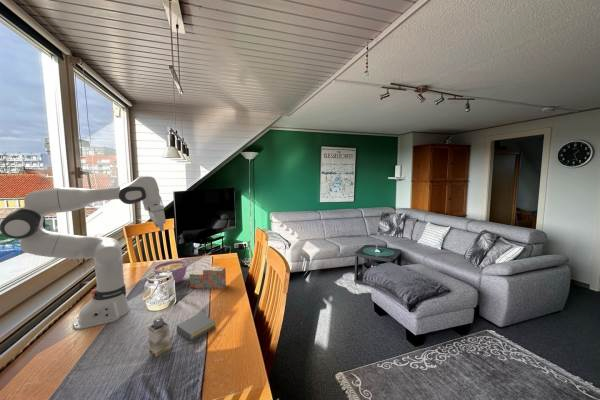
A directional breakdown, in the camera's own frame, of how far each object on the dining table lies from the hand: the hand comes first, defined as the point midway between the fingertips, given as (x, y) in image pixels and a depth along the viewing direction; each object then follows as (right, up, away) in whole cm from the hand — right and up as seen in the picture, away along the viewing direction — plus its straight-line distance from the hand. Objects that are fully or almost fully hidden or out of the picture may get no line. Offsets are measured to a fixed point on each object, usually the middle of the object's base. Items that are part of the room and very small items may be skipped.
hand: (159, 228), depth 137 cm
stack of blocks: (+19, -40, +21) cm, 49 cm away
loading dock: (+30, -44, -23) cm, 58 cm away
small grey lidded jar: (+21, -45, -36) cm, 62 cm away
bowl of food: (-8, -39, +28) cm, 49 cm away
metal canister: (+21, -36, -37) cm, 56 cm away
